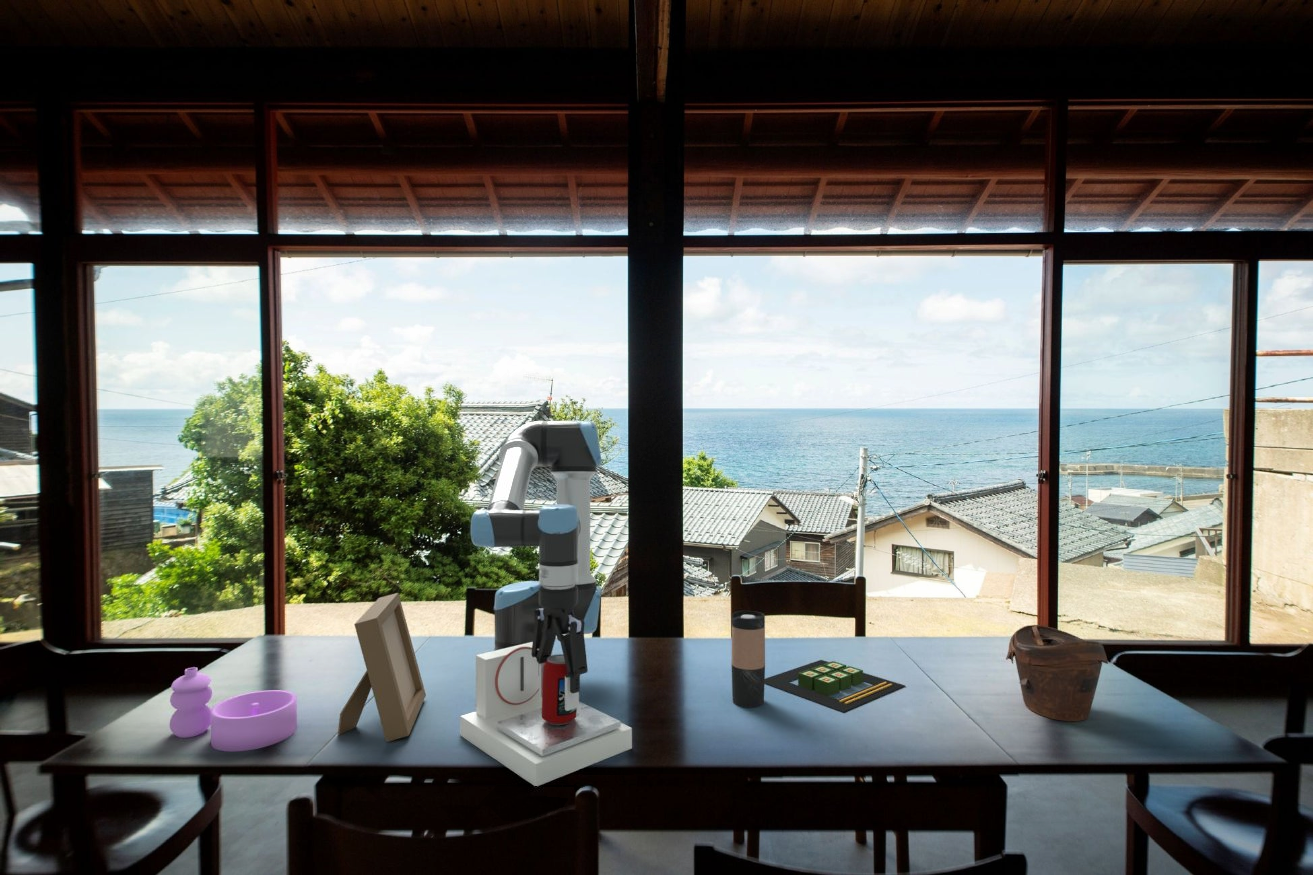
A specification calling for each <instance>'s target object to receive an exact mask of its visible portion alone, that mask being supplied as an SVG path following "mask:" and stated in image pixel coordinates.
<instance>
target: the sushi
mask: <svg viewBox="0 0 1313 875" xmlns="http://www.w3.org/2000/svg"><path fill="white" fill-rule="evenodd" d="M794 681H797V684H795V683H793V682H794ZM864 683H866V684H868V685H871V686H869V687H865V688H863V689H861V690H858V691H856V692H853V693H850V694H848V695H845V696H844V697H841V698H839V699H838V698H835V697H832V696H833V695H835V694H838V693H840V692H843V691H846V690H847V689H848V690H849V689H851V688H852V687H855V686H858V685H861V684H864ZM765 685H766V686H769V687H771V688H774V689H777V690H780V691H781V692H784V693H787V694H790V695H793V696H796V697H799V698H801V699H804V700H806V701H810V702H811V703H815V704H817V705H820V706H822V707H826V708H829V709H832V710H834V711H835V712H836V711H837V712H839V713H843V714H845V713H847V712H849V711H851V710H854V709H856V708H858V707H861V706H863V705H865V704H868V703H870V702H871V703H872V701H875V700H878V699H879V698H882V697H884V696H887V695H890V694H891V693H893V692H896V691H899V690H901V689H903V688H905V687H906V685H905V684H901V683H899V682H895V681H891V680H889V679H886V678H882V677H879V676H875V675H872V674H869V673H865V672H864V670H863V669H862V668H856V667H853V666H850V665H848V666H847V665H846V664H843V663H840V662H836V661H834V660H832V661H826V660H824V659H819V660H816V661H813V662H811V663H808V664H804V665H801V666H799V667H795V668H793V669H789V670H787V671H783V672H780V673H778V674H774V675H771V676H769V677H765Z"/></svg>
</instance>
